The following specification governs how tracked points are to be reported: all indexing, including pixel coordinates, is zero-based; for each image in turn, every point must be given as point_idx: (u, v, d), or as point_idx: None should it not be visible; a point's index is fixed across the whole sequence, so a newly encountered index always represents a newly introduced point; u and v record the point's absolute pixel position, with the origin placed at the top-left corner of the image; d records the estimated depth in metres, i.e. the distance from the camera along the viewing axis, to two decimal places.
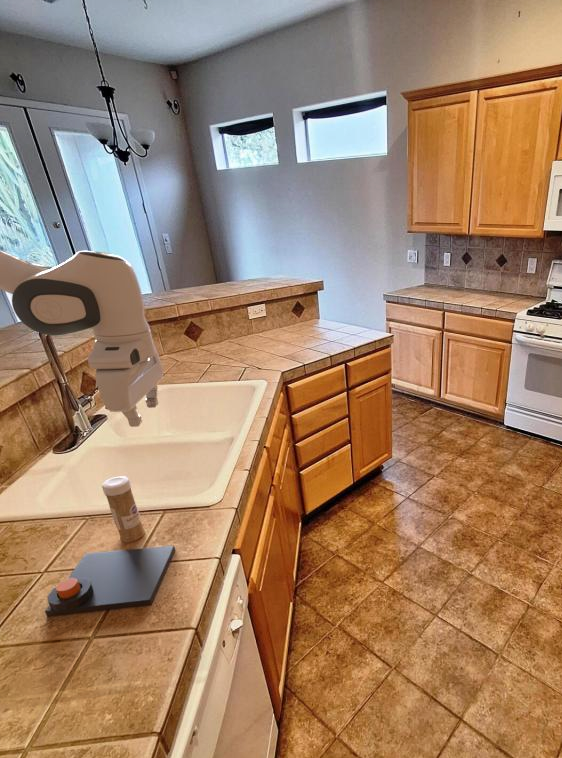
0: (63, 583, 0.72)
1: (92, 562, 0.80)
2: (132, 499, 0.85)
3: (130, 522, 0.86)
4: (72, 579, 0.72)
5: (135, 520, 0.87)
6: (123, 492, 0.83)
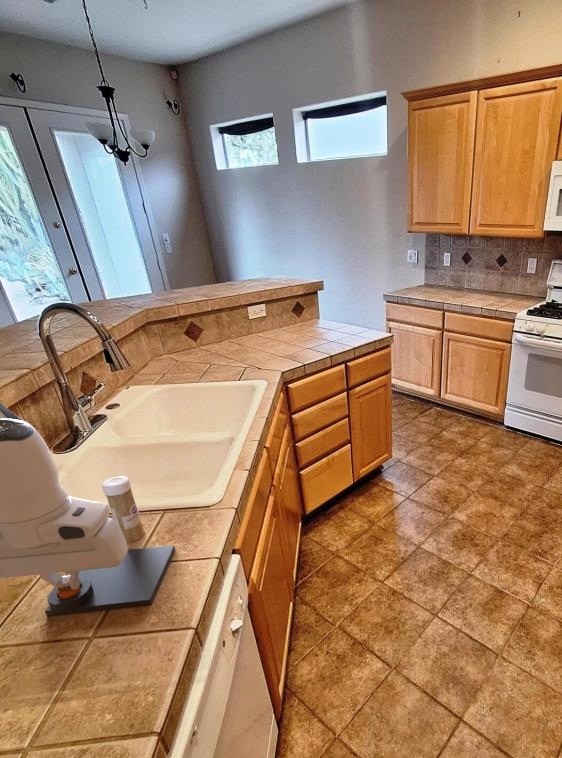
0: None
1: None
2: (132, 499, 0.85)
3: (130, 522, 0.86)
4: None
5: (135, 520, 0.87)
6: (123, 492, 0.83)
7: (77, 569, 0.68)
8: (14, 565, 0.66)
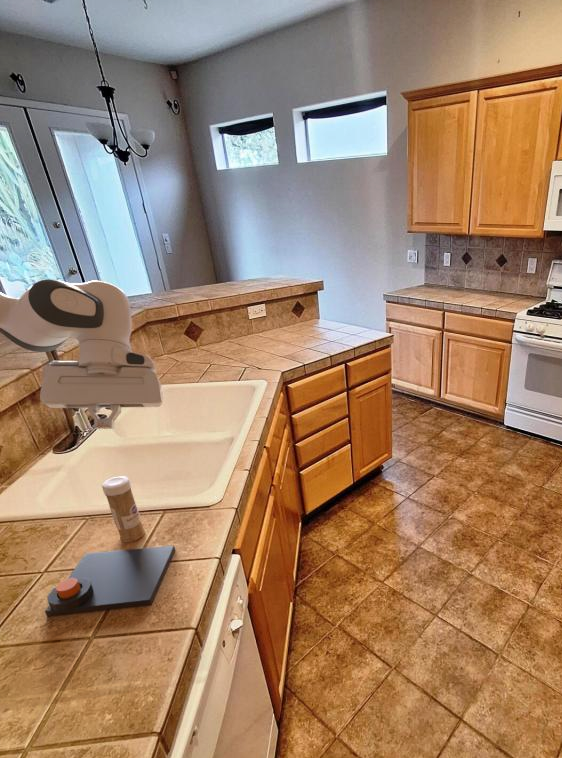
0: (63, 583, 0.72)
1: (92, 562, 0.80)
2: (132, 499, 0.85)
3: (130, 522, 0.86)
4: (72, 579, 0.72)
5: (135, 520, 0.87)
6: (123, 492, 0.83)
7: (123, 400, 0.85)
8: (73, 390, 0.82)
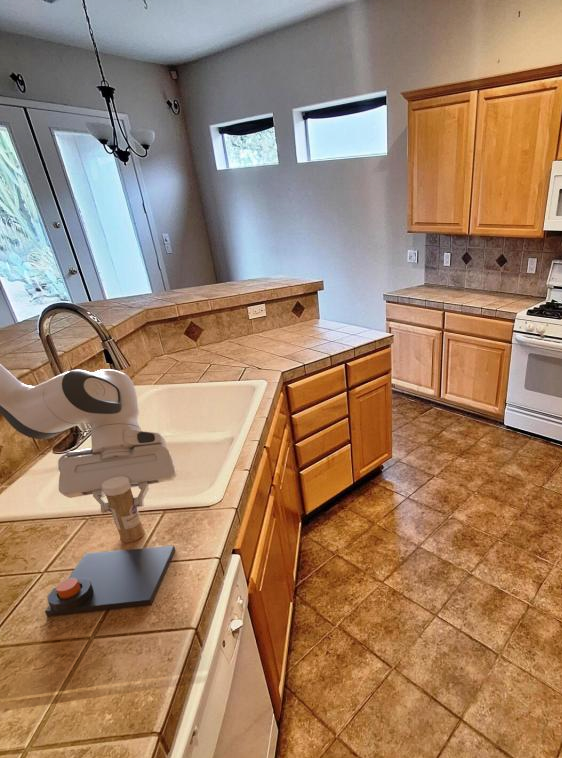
0: (63, 583, 0.72)
1: (92, 562, 0.80)
2: (132, 499, 0.85)
3: (130, 522, 0.86)
4: (72, 579, 0.72)
5: (135, 520, 0.87)
6: (123, 492, 0.83)
7: (139, 479, 0.87)
8: (90, 477, 0.84)
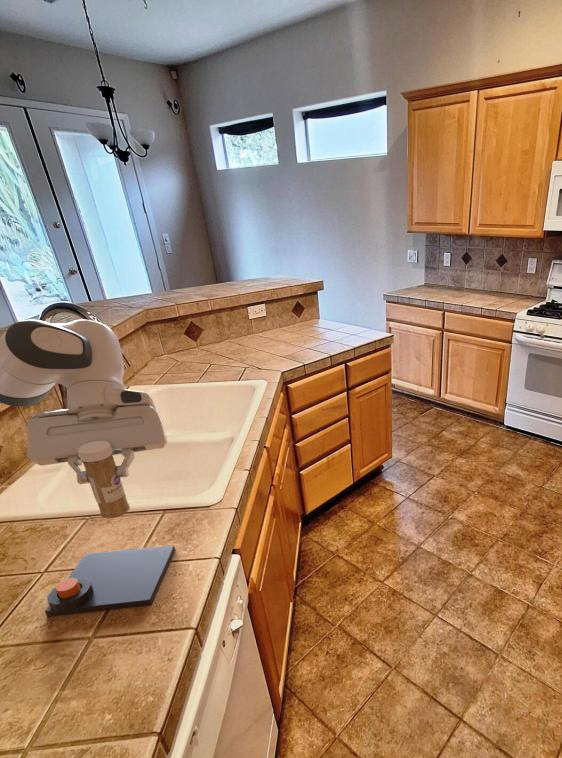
0: (63, 583, 0.72)
1: (92, 562, 0.80)
2: (114, 467, 0.73)
3: (112, 494, 0.73)
4: (72, 579, 0.72)
5: (118, 492, 0.74)
6: (103, 458, 0.71)
7: (122, 444, 0.74)
8: (64, 441, 0.72)
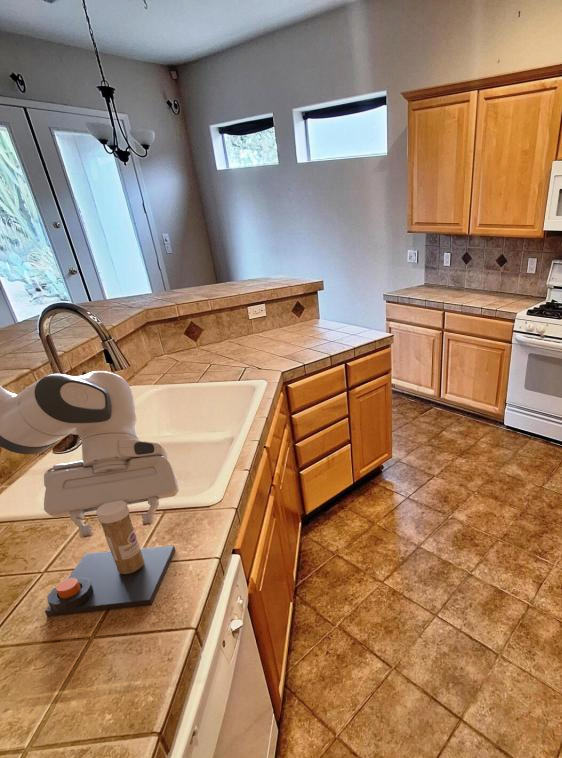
0: (63, 583, 0.72)
1: (92, 562, 0.80)
2: (130, 526, 0.76)
3: (128, 551, 0.76)
4: (72, 579, 0.72)
5: (134, 549, 0.77)
6: (120, 519, 0.73)
7: (136, 496, 0.76)
8: (80, 494, 0.74)
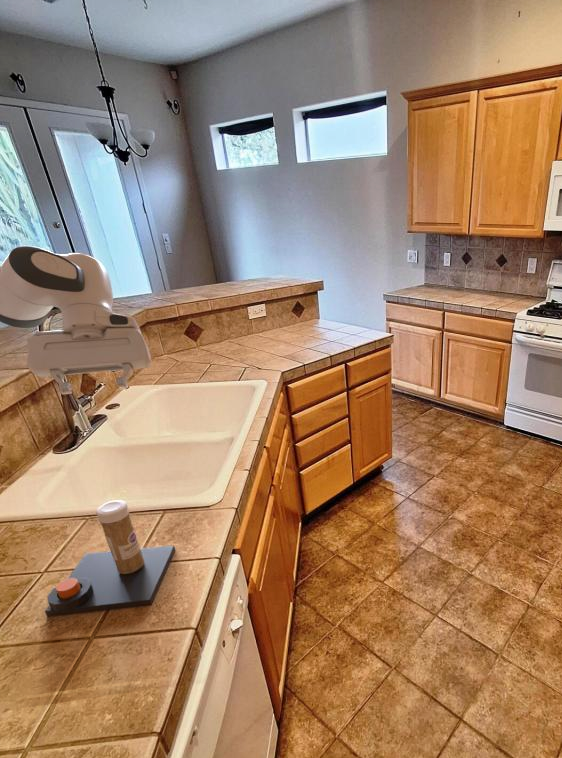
0: (63, 583, 0.72)
1: (92, 562, 0.80)
2: (130, 526, 0.76)
3: (128, 551, 0.76)
4: (72, 579, 0.72)
5: (134, 549, 0.77)
6: (120, 519, 0.73)
7: (111, 360, 0.84)
8: (60, 354, 0.82)
